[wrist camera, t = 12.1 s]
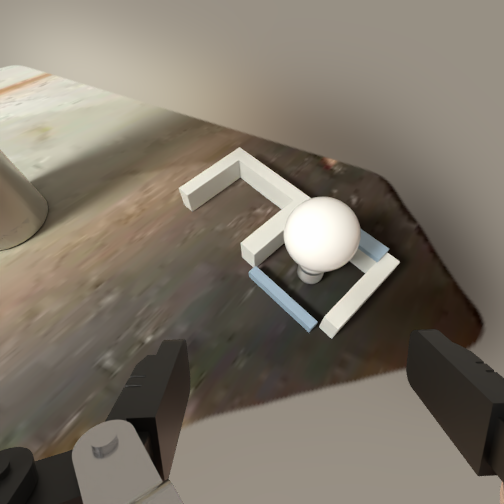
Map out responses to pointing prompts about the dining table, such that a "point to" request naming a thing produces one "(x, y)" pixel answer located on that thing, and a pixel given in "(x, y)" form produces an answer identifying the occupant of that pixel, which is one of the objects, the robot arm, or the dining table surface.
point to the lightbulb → (321, 236)
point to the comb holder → (272, 237)
